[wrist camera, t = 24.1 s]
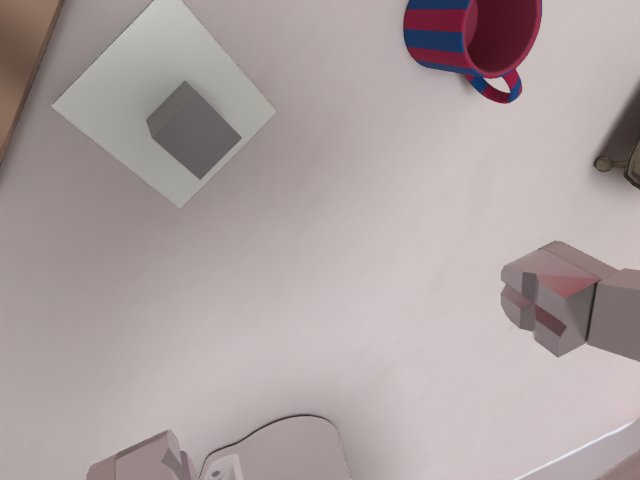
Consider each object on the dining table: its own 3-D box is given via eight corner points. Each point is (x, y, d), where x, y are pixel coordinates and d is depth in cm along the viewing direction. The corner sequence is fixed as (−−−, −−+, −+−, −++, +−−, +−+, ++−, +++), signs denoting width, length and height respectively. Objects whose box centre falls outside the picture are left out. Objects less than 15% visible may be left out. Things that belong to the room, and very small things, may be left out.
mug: (462, -46, 33) (534, -57, 27) (491, 76, 38) (555, 86, 33) (390, 2, 32) (449, 0, 27) (430, 118, 38) (485, 137, 32)
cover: (177, 203, 33) (190, 238, 28) (52, 103, 27) (39, 124, 22) (272, 108, 33) (302, 126, 28) (166, -14, 27) (179, -19, 22)
